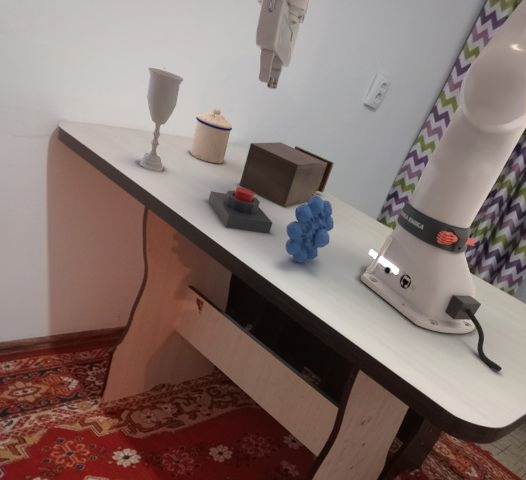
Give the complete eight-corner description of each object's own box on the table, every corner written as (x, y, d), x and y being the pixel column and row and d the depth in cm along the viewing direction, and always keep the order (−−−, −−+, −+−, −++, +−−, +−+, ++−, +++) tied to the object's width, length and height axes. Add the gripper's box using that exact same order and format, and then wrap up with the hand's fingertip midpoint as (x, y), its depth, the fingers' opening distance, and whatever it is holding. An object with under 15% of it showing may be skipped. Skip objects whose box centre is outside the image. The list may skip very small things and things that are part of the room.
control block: (269, 233, 88) (275, 213, 86) (225, 227, 84) (231, 206, 82) (248, 208, 96) (254, 189, 94) (208, 201, 92) (212, 181, 90)
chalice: (163, 175, 97) (179, 81, 87) (131, 165, 96) (144, 68, 86) (170, 167, 103) (186, 78, 93) (139, 157, 102) (152, 66, 92)
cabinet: (269, 180, 119) (280, 142, 114) (310, 200, 116) (324, 161, 111) (239, 185, 108) (250, 143, 103) (284, 207, 104) (298, 164, 99)
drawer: (294, 174, 129) (303, 146, 125) (329, 190, 126) (340, 162, 122) (263, 179, 115) (272, 147, 111) (301, 197, 112) (313, 165, 108)
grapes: (295, 279, 75) (321, 208, 68) (266, 259, 78) (289, 189, 71) (335, 270, 83) (362, 206, 76) (307, 252, 86) (331, 190, 79)
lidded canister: (230, 166, 119) (242, 118, 113) (199, 162, 114) (210, 111, 107) (207, 149, 126) (218, 104, 120) (178, 145, 121) (187, 96, 114)
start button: (254, 204, 88) (257, 195, 87) (237, 201, 86) (239, 192, 85) (248, 197, 90) (250, 188, 89) (231, 194, 89) (233, 185, 88)
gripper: (295, -20, 71) (276, 81, 77) (305, 15, 89) (290, 95, 95) (256, -28, 71) (240, 73, 77) (274, 9, 90) (260, 88, 96)
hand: (267, 85), depth 86 cm, fingers open, 8 cm apart
